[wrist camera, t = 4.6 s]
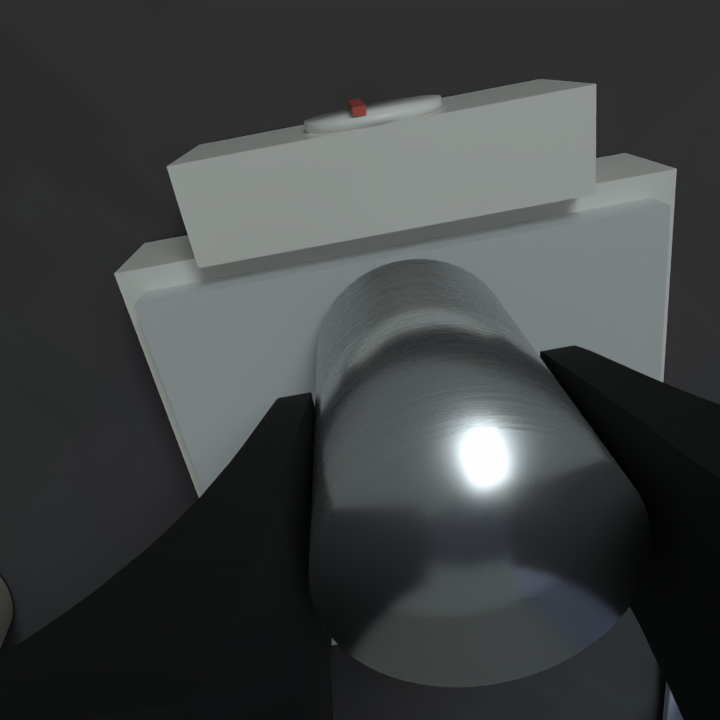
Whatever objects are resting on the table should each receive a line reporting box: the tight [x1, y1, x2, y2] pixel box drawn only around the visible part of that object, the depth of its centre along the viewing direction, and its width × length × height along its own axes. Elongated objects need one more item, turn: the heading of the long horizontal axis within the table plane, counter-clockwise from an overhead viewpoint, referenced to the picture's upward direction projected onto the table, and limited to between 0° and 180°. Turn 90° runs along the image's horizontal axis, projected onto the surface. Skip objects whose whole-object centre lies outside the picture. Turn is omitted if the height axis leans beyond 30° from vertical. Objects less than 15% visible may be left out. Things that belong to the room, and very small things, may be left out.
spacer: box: [309, 259, 652, 687], centre depth 10 cm, size 4×4×6 cm
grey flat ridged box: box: [114, 79, 677, 645], centre depth 15 cm, size 14×12×3 cm
